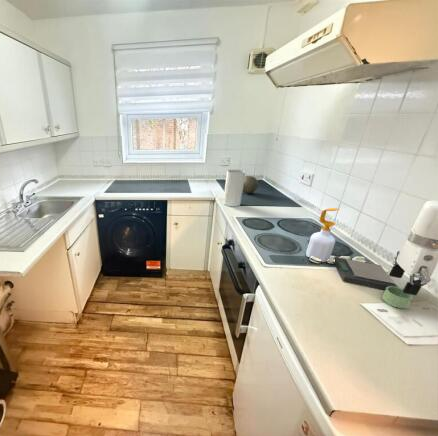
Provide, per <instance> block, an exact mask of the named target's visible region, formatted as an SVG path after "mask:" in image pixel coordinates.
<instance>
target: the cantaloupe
mask: <svg viewBox="0 0 438 436" xmlns="http://www.w3.org/2000/svg"><path fill="white" fill-rule="evenodd" d="M258 187H259V181H258V179H257V178H256V177H255V176H252V175H249V176H245V178H244V185H243V191H242V193H245V194H248V195H249V194H253V193H254V192H256V190H257V189H258Z"/></svg>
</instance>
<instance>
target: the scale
mask: <svg viewBox="0 0 438 436" xmlns="http://www.w3.org/2000/svg"><path fill="white" fill-rule="evenodd" d="M334 259H335V263H334V262H333V264H334V266H335V268H336V271H337V273H338V275H339V276H340V279H341V280H342V282H343V283H348V284H352V285H357V286H360V287H361V286H362V287H366V288H371V289H376V290H381V291H385V289H386V287H388V286H394V287H398V285H397V284H396V282H395V281H394V280H393V279H392V278H391V276H390V275H389V273H387V271H386V270H385V269H384V267H383V266H382V265H381V264H377V263H371V262H366V261H359V260H356V259H355V260H354V259H349V258H343V257H338V256H334V257H333V260H334Z"/></svg>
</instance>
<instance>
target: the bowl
mask: <svg viewBox="0 0 438 436" xmlns="http://www.w3.org/2000/svg"><path fill="white" fill-rule="evenodd" d="M403 289H404V288H401V287H399V286H397V287H394V286H388V287H386V289H385V290H383V291H384V292H383V294H382V296H381V299H382V300H383V301H384V302H385V303H386V304H387V305H389V306H391V307H392V308H396V307H398V308H397V309H408V308H409V307H410V304H411V303H412V300H413V299H414V295H411V294H406V293H404V292H403Z"/></svg>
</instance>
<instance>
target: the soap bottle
mask: <svg viewBox="0 0 438 436" xmlns="http://www.w3.org/2000/svg"><path fill="white" fill-rule="evenodd" d="M338 210H339V207H329V208H326V209H323V210H322V211H321V213H320V216H319V220H318V221H319V223H320V224H323V226H322V227H321V228H320V231H318V232H317V231H316V232H313V233H312V234H311V236H310V238H309V242H308V245H307V248H306V252H305V255H306V257H307V258H308V257H311V256H314V257H316V258H319V259H321V260H322V262H321V263H327V262H328V261H327V260H328V259H329V258H330V259H331V255H332V253H333V250H334V248H335V245H336V238H335V237H334V236H333V235H332V234H331V230H332V229H331V228H330V227H333V226H335V225H336V222H333V221H329V220H328V219H327V220H326V214H327V212H336V211H338ZM330 259H329V260H330ZM326 261H327V262H326Z"/></svg>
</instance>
